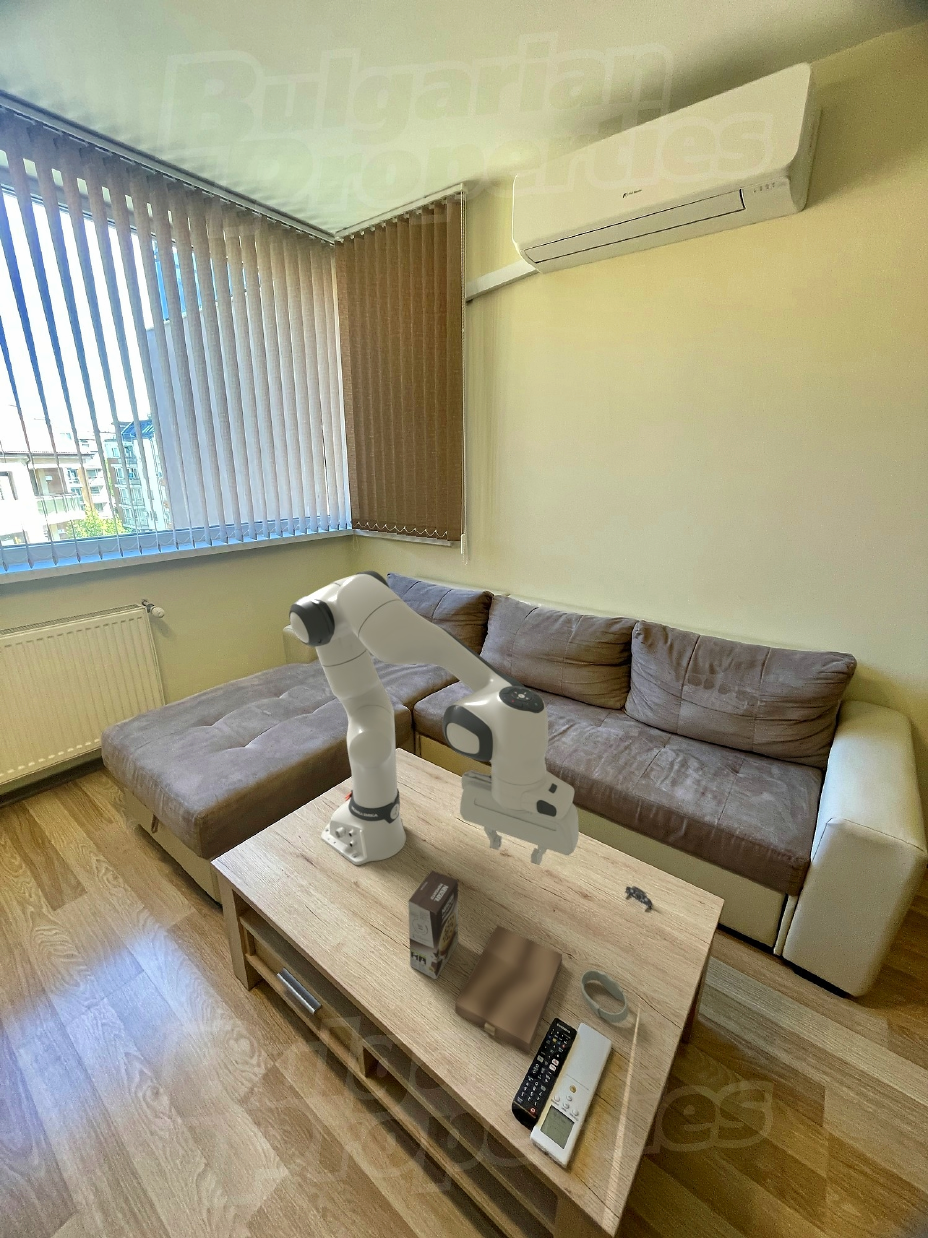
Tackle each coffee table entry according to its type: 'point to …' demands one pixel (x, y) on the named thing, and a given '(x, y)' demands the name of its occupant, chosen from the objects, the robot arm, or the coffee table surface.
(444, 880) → the coffee box
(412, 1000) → the coffee table surface
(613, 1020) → the grey oval ring piece
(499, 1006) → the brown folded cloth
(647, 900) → the dark grey irregular piece
